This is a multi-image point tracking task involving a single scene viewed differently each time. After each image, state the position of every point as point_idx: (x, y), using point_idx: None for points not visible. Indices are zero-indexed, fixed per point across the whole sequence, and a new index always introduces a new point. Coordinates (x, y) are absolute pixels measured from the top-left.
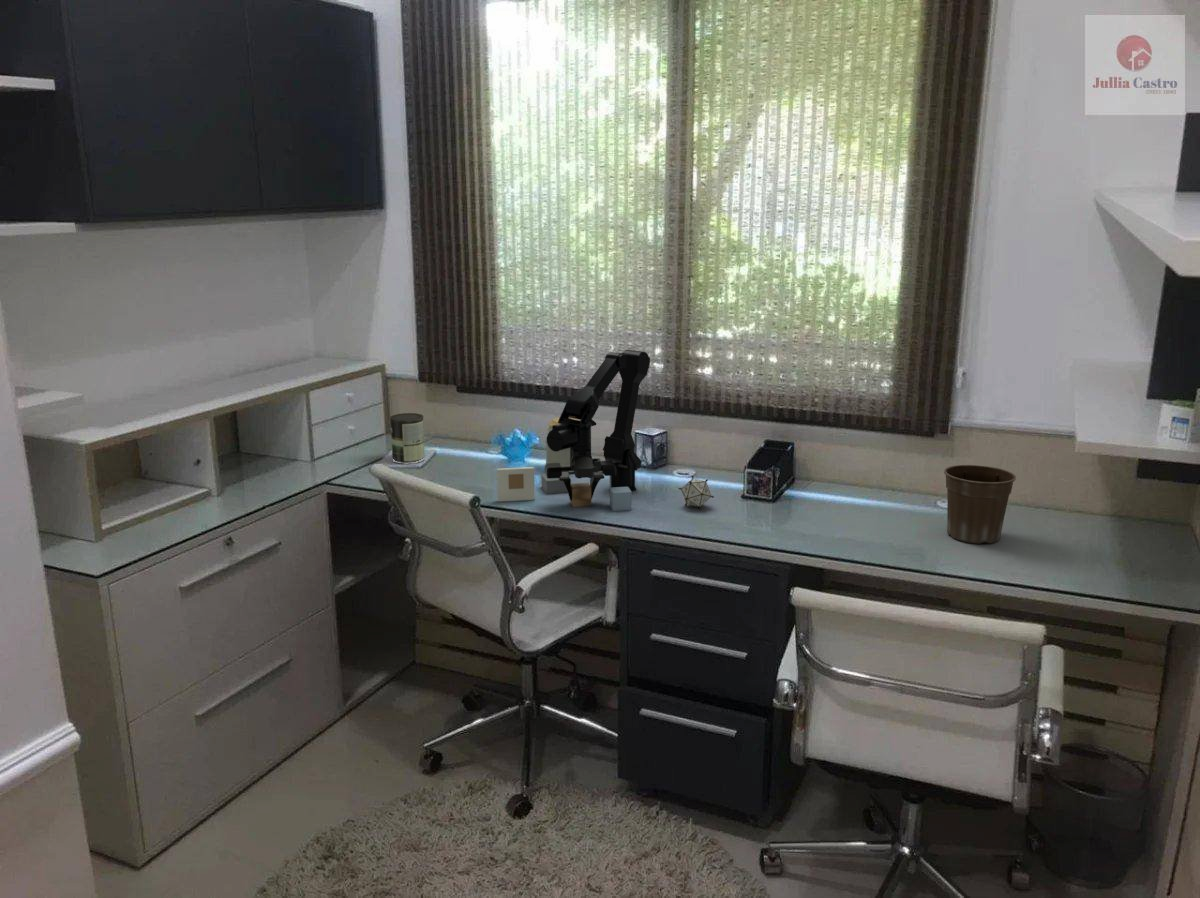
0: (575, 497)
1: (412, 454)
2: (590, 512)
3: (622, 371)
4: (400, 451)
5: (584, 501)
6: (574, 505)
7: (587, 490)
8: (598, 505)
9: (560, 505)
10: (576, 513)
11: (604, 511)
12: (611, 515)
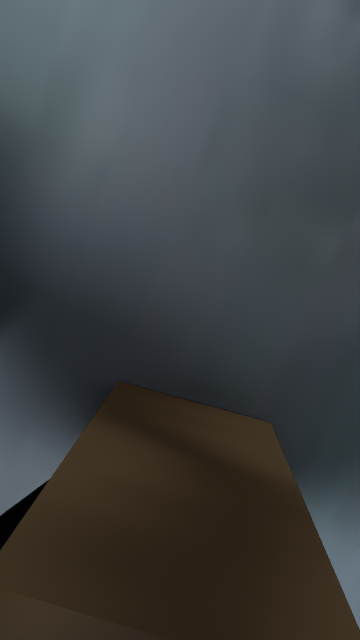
0: (272, 493)
1: None
2: (194, 213)
3: None
4: None
5: (169, 424)
6: (260, 426)
7: (85, 546)
8: (60, 367)
9: (344, 493)
10: (336, 241)
11: (57, 187)
12: (24, 12)
